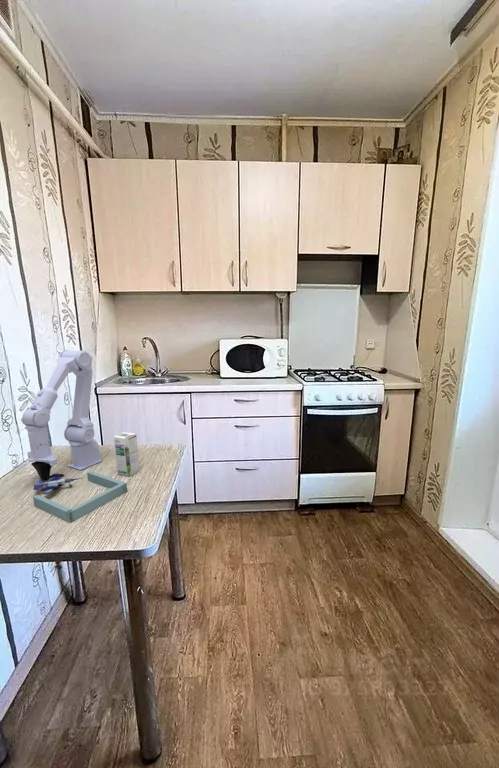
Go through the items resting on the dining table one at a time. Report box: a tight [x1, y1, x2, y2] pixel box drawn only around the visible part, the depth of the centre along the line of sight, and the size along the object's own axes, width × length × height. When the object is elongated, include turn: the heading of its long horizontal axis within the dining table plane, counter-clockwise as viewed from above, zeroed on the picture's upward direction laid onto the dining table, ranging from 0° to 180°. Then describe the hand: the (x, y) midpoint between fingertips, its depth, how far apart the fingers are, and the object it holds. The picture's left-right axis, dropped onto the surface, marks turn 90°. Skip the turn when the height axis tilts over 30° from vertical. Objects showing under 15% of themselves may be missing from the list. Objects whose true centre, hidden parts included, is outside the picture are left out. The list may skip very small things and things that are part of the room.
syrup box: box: [113, 431, 141, 477], centre depth 131 cm, size 6×6×14 cm
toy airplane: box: [32, 472, 83, 495], centre depth 121 cm, size 13×14×4 cm
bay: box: [32, 470, 128, 523], centre depth 114 cm, size 20×18×3 cm
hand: (45, 480), depth 125 cm, fingers closed
